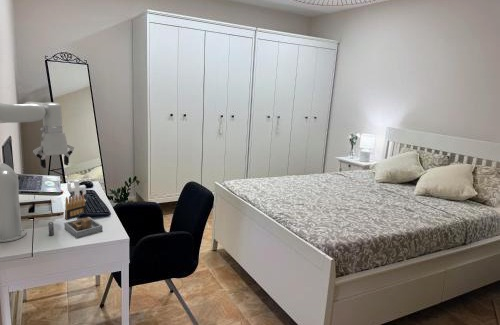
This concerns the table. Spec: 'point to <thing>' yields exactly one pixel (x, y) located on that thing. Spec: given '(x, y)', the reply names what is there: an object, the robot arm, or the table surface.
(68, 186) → the figurine
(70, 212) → the ammunition clip
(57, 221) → the table surface
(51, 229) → the stake
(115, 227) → the table surface
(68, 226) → the tray
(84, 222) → the wooden block toy
